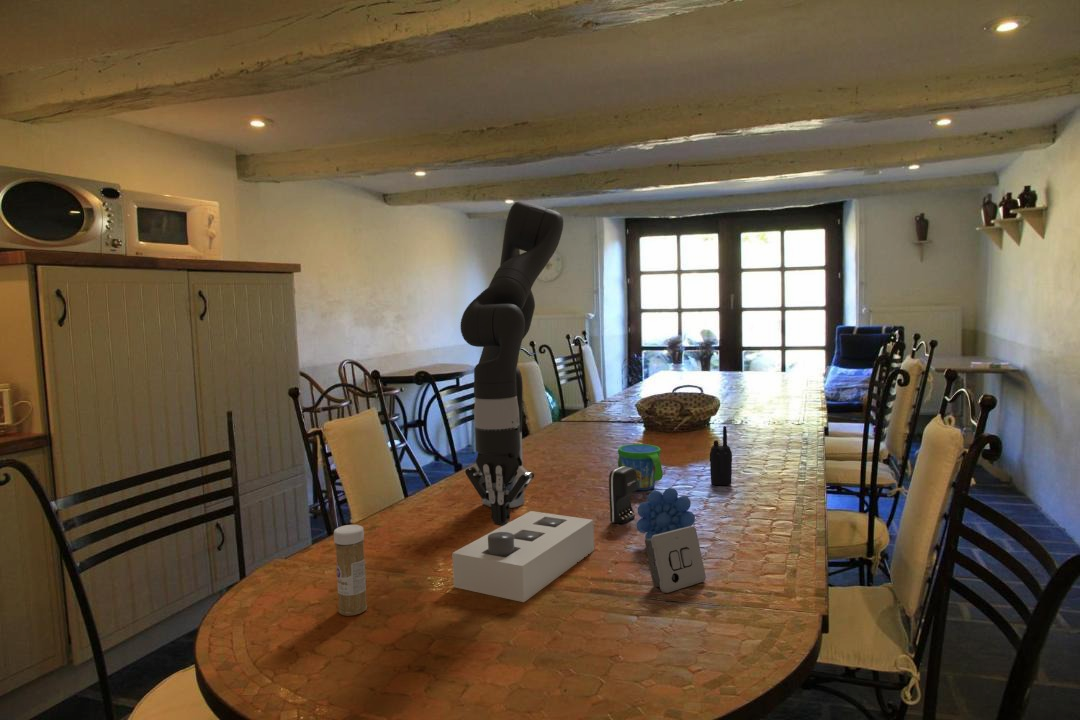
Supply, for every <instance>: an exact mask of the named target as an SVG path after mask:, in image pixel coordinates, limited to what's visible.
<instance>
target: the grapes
mask: <svg viewBox="0 0 1080 720" xmlns="http://www.w3.org/2000/svg"><path fill="white" fill-rule="evenodd" d="M691 502H692V501H691V499H690V498H689V497H688V496H684V495H682V496H679V493H678V491H677V489H675V488H674V487H668V488H666V489H665V490H664V491H663V492H661V491H660V490H655V489H654V490H652V491H651V492H649V494H648V495H647V501H644V502H641V503H640V504H639V506H637V514H638V516H639V517H640V518H639V519H638V521H637V522H636V529H637V531H638V532H639V533H640V534H645V538H644V541H645V540H647V539H651V538H652V536H653V535H657V534H661V533H665V532H668V531H672V530H676V529H680V528H684V527H688V526H693V525H694V524H695V520H696V516H695V514H694V513H693V512H692V511H689V510H690V509H691Z"/></svg>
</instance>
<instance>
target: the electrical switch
mask: <svg viewBox="0 0 1080 720" xmlns="http://www.w3.org/2000/svg"><path fill="white" fill-rule="evenodd" d="M644 546H645V549H646V555H647V559H648V564H649V570H650V575H651V579H652V580H651V581H652V585H653V587H657V588H660V589H659V590H660V591H661V592H662V593H663V594H665V593H667V594H668V593H672V592H675V591H677V590H681V589H684V588H689V587H691V586H694V585H696V584H701V583H704V582H705V581H706V578H707V575H706V570H705V566H704V560H703V556H702V552H701V546H700V542H699V539H698V533H697V528H696V527H694V526H693V525H692V526H688V527H684V528H680V529H676V530H672V531H668V532H665V533H661V534H657V535H653V536H652V538H651V539H647V540H645V539H644Z"/></svg>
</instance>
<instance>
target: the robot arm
mask: <svg viewBox="0 0 1080 720" xmlns="http://www.w3.org/2000/svg"><path fill="white" fill-rule="evenodd" d="M505 221H506V222H505V226H504V232H503V234H504V235H503V240H502V249H501V256H500V257H501V259H500V265H499V267H498V269H497V270H496V271H495V273H494V274H493V277H492V279H491V281H490V282H489V285H488V287H487V288H485V290H483V291H482V292H481V293H479V294H478V295H477V296H476V297H475V298H474V299H473V300H472V301H471V302H470V303H469V304H468V305H467V307H466V308H465V310H464V311H463V313H462V317H461V319H460V326H459V327H460V334H461V336H462V339H464V342H466V343H467V344H468V345H470V346H472V347H476V348H477V347H479V348H480V347H482V352H481V354H480V357H479V360H478V363H477V364H476V365H475V367H474V370H473V381H474V382H473V394H474V397H475V398H474V407H473V409H474V410H473V414H474V416H473V418H474V435H475V436H474V439H475V451H476V452H477V456H476V458H475V464H473V465H472V466H471V467H468V468H466V469H465V470H464V472H465V475H466V476H467V478H468V479H469V481H470V483H471V485H473V487H474V490H475V491H476V492H477V493H478V496H479V497H480V498H481V503H482V505H485V506H487V507H489V508H490V510H491V520H492V522H493V525H494V526H498V527H502V526H504V525H506V524H507V523H509V522H510V519H511V509H512V508H517V507H520V506H522V505H524V504H525V490H526V489H527V487H528V486H529V485H530V483H531V482H532V481H533V479H534V478H535V473H534V472H533V471H528V470H527V469H525V467H524V463H523V462H524V460H523V458H524V456H523V455H524V454H523V434H522V433H523V432H522V431H523V428H522V427H523V426H522V422H523V391H524V390H523V389H524V388H523V387H524V385H523V376H522V372H521V369H520V368H519V367H518V361H519V356H520V350H521V346H522V343H523V339H524V338H525V337H526V336H527V334H528V332H530V331H529V330H530V329H531V324H532V320H533V317H534V312H535V307H536V302H535V297H534V293H533V291H532V287H533V285H534V284H535V282H536V280H537V279H538V277H539V276H540V274H541V273H542V271H543V270H544V269H545V267H546V266H547V264H548V263H549V262H550V261H551V259H552V257H553V255H554V253H555V252H556V250H557V249H558V246H559V244H560V241H561V237H562V234H563V231H564V230H563V229H564V218H563V215H562V214H561V213H560V212H558V211H556V210H553V209H550V208H546V207H544V206H540V205H536V204H533V203H529V202H526V201H520V200H518V201H516V202H514V203H513V204H512V206H511V207H510V209H509V212H508V214H507V218H506V220H505ZM521 251H523V252H522V253H521Z"/></svg>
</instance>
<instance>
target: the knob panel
mask: <svg viewBox="0 0 1080 720" xmlns="http://www.w3.org/2000/svg"><path fill="white" fill-rule="evenodd" d="M544 519H557V520H560V521H561V522H562V524H560V525H558V526H557V527H549V526H542V525H539V521H541V520H544ZM594 527H595V526H594V519H590V518H582V517H576V516H569V515H568V516H567V515H562V514H554V513H548V512H539V511H533V510H530V511H527V512H526V513H524V514H522V515H521V516H519V517H517V518H515V519H513V520H511V521H508V523H507V524H506V525H504V526H499V527H498V528H496V529H494V530H492V531H490V532H489V533H487V534H485V535H483V536H481V537H480V538H477V539H475V540H474V541H472V542H470V543H468V544H466V545H464V546H462V547H461V548H459V549H456V550H455V551H453V552H452V555H451V556H452V571H453V572H452V574H453V575H452V576H453V577H452V578H453V587H454V588H457V589H460V590H461V589H462V590H466V591H470V592H475V593H479V594H484V595H489V596H492V597H493V596H494V597H498V598H502V599H507V600H512V601H515V602H516V601H517V602H520V603H525V602H526V601H528V600H529V599H531V598H532V597H534V596H535V595H536V594H537V593H539V592H541V591H542V589H544V588H545V587H547V586H548V585H549V584H551V583H552V582H554V581H555V580H556V579H558V578H559V577H560V576H561V575H563V574H564V573H566V572H567V571H569V570H570V569H572V567H574V566H575V565H577V564H578V563H579V562H581V560H583V559H584V557H585V558H586V557H588V556H589V555H590V554H591V553H592V552H594V551H595V535H594V534H595V531H594V530H595V528H594ZM496 532H509V533H512V534H513V535H514V553H512V554H511V555H509V556H508V557H506V558H505V557H500V556H494V555H489V554H488V536H489V535H490V534H492V533H496ZM522 532H535V533H538V534H539V538H537V539H535V540H534V541H532V542H531V541H525V540H519V539H515V535H516V534H518V533H522ZM588 554H589V555H588ZM577 562H578V563H577Z"/></svg>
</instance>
